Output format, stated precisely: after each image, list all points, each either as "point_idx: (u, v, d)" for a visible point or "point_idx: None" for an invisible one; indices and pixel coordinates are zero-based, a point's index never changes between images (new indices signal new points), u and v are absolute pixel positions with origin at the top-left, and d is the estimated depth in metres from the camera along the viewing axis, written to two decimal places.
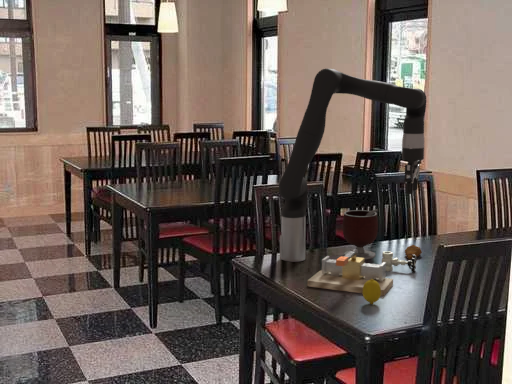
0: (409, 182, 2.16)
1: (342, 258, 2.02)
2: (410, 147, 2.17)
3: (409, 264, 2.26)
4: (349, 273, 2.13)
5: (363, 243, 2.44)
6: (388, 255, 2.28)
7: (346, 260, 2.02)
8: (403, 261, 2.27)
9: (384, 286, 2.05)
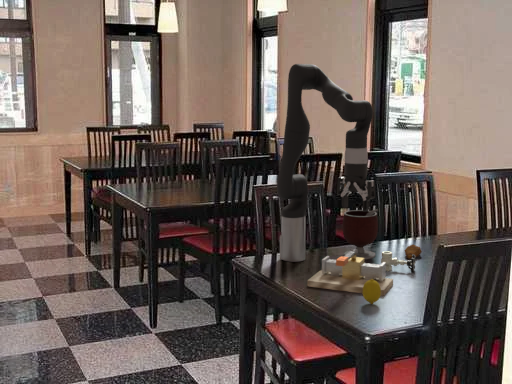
0: None
1: (342, 258, 2.02)
2: (364, 162, 2.05)
3: (408, 264, 2.26)
4: (349, 273, 2.13)
5: (363, 243, 2.44)
6: (387, 255, 2.28)
7: (346, 260, 2.02)
8: (402, 261, 2.27)
9: (384, 286, 2.05)
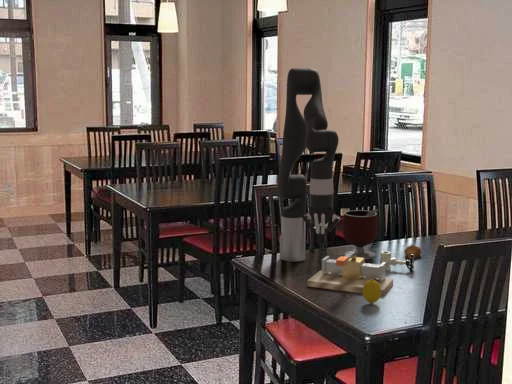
0: None
1: (342, 258, 2.02)
2: (332, 193, 2.01)
3: (407, 264, 2.27)
4: (349, 273, 2.13)
5: (363, 243, 2.44)
6: (386, 255, 2.28)
7: (346, 260, 2.02)
8: (401, 261, 2.28)
9: (384, 286, 2.05)
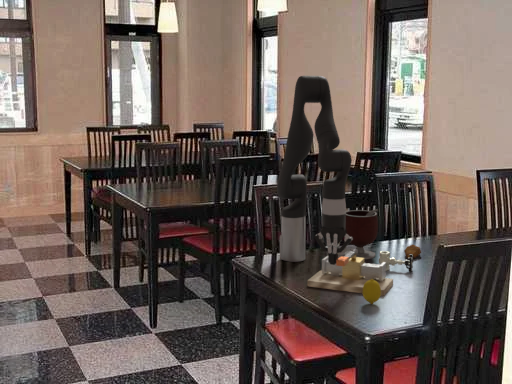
0: None
1: (342, 258, 2.02)
2: (345, 212, 2.00)
3: (406, 263, 2.27)
4: (349, 273, 2.13)
5: (363, 243, 2.44)
6: (385, 255, 2.28)
7: (346, 260, 2.02)
8: (400, 261, 2.28)
9: (384, 286, 2.05)
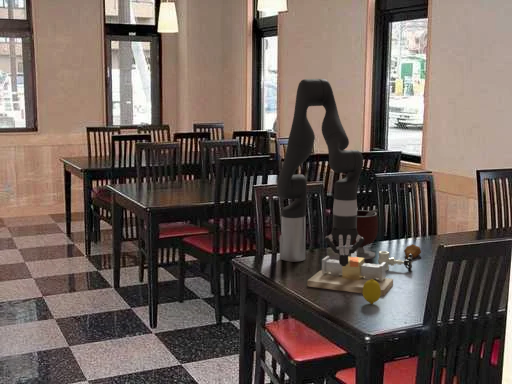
0: None
1: (354, 259, 2.01)
2: (356, 213, 1.99)
3: (405, 263, 2.27)
4: (349, 273, 2.13)
5: (363, 243, 2.44)
6: (385, 255, 2.28)
7: None
8: (399, 260, 2.28)
9: (384, 286, 2.05)
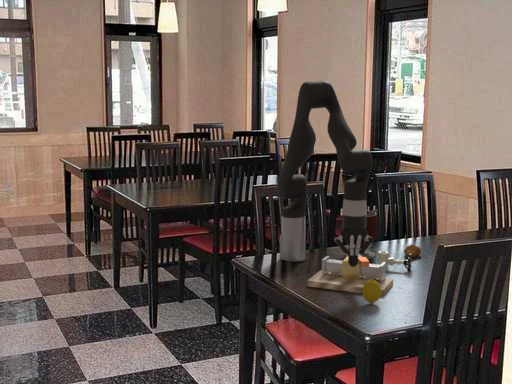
0: None
1: (363, 259, 2.01)
2: None
3: (405, 263, 2.27)
4: (349, 273, 2.13)
5: None
6: (384, 255, 2.28)
7: None
8: (399, 260, 2.28)
9: (384, 286, 2.05)
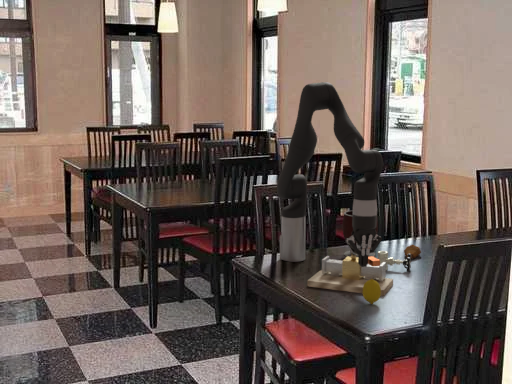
0: None
1: (372, 258, 2.02)
2: None
3: (404, 263, 2.27)
4: (349, 273, 2.13)
5: None
6: (383, 254, 2.28)
7: None
8: (398, 260, 2.28)
9: (384, 286, 2.05)
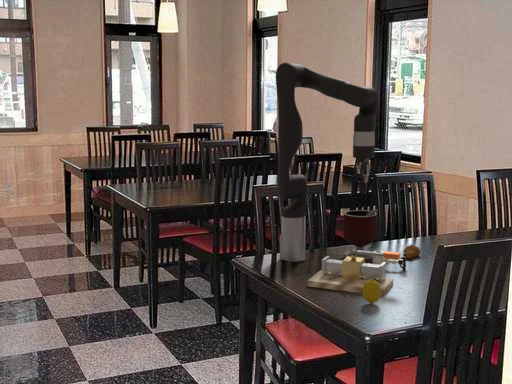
0: None
1: (391, 252, 2.08)
2: None
3: (400, 263, 2.28)
4: (349, 273, 2.13)
5: (363, 243, 2.44)
6: None
7: None
8: (394, 260, 2.29)
9: (384, 286, 2.05)
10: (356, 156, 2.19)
